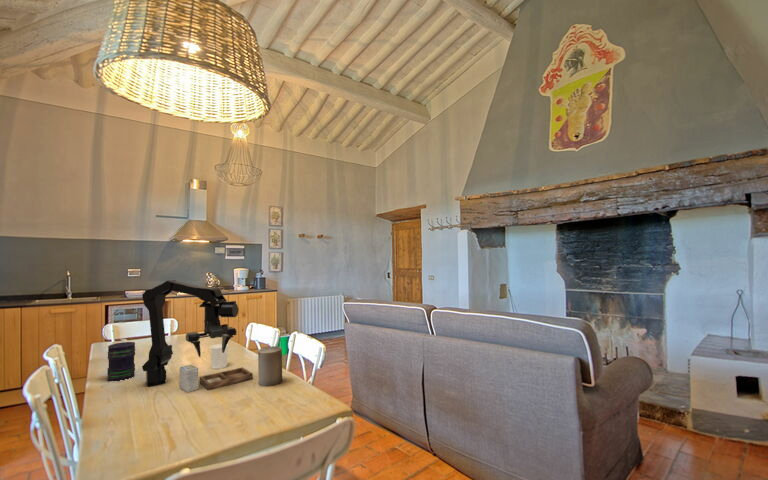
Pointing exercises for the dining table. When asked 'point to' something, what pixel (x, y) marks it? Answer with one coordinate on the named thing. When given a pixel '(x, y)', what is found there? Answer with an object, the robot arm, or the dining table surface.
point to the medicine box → (189, 378)
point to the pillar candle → (270, 366)
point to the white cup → (218, 356)
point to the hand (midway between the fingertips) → (211, 354)
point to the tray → (225, 378)
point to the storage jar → (121, 361)
